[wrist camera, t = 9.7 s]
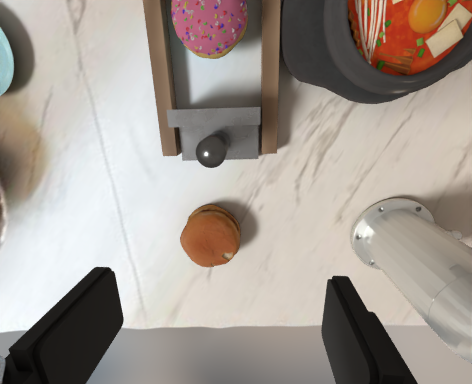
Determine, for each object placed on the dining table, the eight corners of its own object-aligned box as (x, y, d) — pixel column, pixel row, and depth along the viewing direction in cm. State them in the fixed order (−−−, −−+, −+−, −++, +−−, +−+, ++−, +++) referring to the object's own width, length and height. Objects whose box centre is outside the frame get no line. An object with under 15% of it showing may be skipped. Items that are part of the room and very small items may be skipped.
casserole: (278, 111, 34) (288, 111, 26) (275, -58, 28) (286, -124, 20) (464, 96, 32) (536, 92, 24) (503, -85, 26) (614, -169, 18)
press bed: (279, -57, 28) (288, -105, 22) (274, 150, 35) (280, 159, 29) (143, -49, 28) (115, -93, 22) (168, 153, 36) (152, 162, 30)
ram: (257, 107, 33) (262, 106, 24) (257, 157, 36) (262, 174, 26) (179, 109, 34) (153, 109, 24) (184, 158, 36) (162, 176, 26)
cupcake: (169, 8, 30) (123, -54, 19) (230, -29, 29) (220, -119, 17) (200, 76, 33) (177, 57, 21) (258, 45, 31) (265, 8, 20)
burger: (192, 197, 39) (185, 209, 34) (247, 212, 39) (248, 226, 35) (180, 248, 42) (172, 264, 37) (231, 261, 42) (229, 279, 38)
